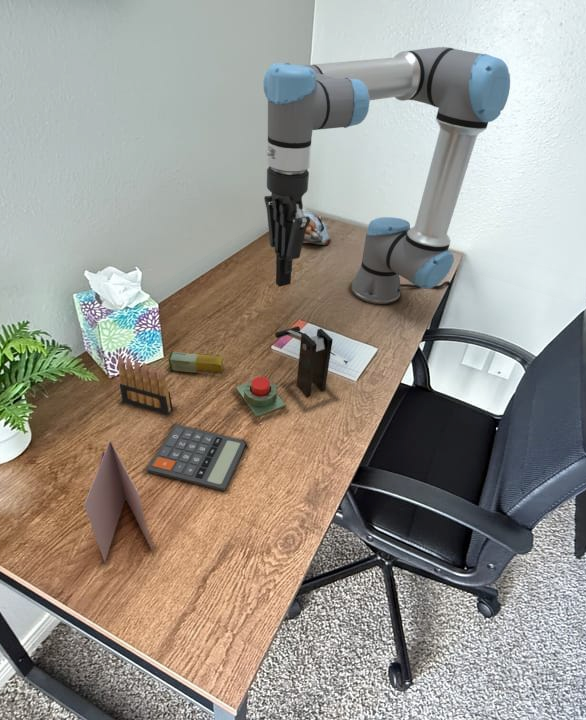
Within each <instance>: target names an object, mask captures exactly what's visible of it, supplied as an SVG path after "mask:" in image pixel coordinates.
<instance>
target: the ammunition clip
mask: <svg viewBox="0 0 586 720" xmlns="http://www.w3.org/2000/svg"><path fill="white" fill-rule="evenodd" d="M117 366H118V376H119V380H120V381H119V382H120V383H119V389H120V394H121V401H122V403H124V404H128V405H132V406H135V407H137V408H141V409H145V410H148V411H153V412H156V413H160V414H163V415H167V416H169V415H170V414H171V412H172V411H173V410H174V408H173V403H172V398H171V391H170V390H169V388H168V387H169V386H168V382H167V379H166V375H165V371H164V369H163V367H162V366H159V367H158V371H157V370H156V367H155V365H153V364H151V365H150V370H149V368H148V364H146V362H143V363H142V367H141V365H140V363H139V362H138V359H136V360H134V365H133V363H132V361H131V359H130V358H128V357H127V358H126V362H125V360H124V359H123V357H122V356H121V355H119V356H118V357H117ZM157 372H158V373H157Z"/></svg>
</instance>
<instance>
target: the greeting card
mask: <svg viewBox="0 0 586 720" xmlns="http://www.w3.org/2000/svg"><path fill="white" fill-rule="evenodd" d="M125 502H126V503H127V504H128V506H129V507H130V510H131V512H132V514H133V516H134V518H135V519H136V522H137V524H138V526H139V527H140V530H141V532H142V534H143V536H144V538H145V539H146V541H147V544H148V545H149V548H150V549H151V550H152V548H153V547H152V544H151V540H150V536H149V530H148V528H147V523H146V519H145V516H144V509H143V506H142V502H141V498H140V493H139V491H138V489H137V488H136V486H135V484H134V482H133V480H132V478H131V476H130V474H129V472H128V470H127V469H126V466H125V465H124V463H123V461H122V459H121V457H120V456H119V453H118V452H117V450H116V448H115V447H114V444H113V443H112V440H109V442H108V444H107V446H106V449H105V451H104V452H102V456H101V458H100V461H99V465H98V467H97V471H96V473H95V476H94V479H93V481H92V484H91V487H90V488H89V491H88V494H87V497H86V499H85V502H84V503H83V507H84V510H85V512H86V516H87V518H88V521H89V523H90V527H91V530H92V532H93V534H94V537H95V539H96V542H97V545H98V548H99V550H100V553H101V556H102V559H103V561H104V562H106V560H107V557H108V553H109V551H110V548H111V545H112V542H113V538H114V536H115V532H116V529H117V527H118V523H119V521H120V517H121V513H122V511H123V507H124V504H125Z"/></svg>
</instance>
